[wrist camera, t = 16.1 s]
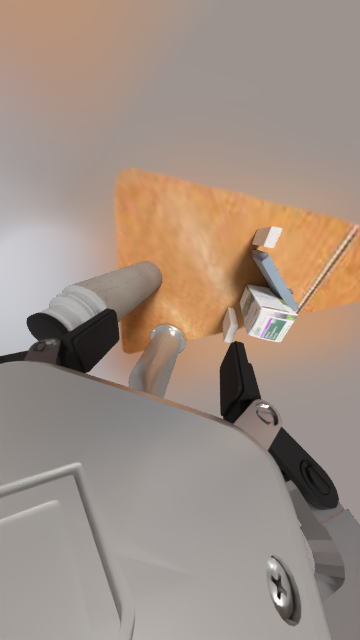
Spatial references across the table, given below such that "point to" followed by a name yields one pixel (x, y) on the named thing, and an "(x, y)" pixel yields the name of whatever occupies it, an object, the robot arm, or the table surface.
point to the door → (273, 277)
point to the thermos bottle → (96, 299)
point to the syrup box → (265, 313)
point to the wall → (262, 238)
